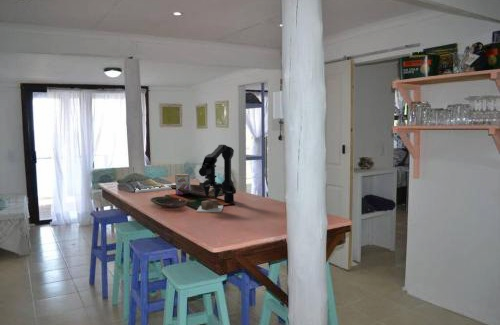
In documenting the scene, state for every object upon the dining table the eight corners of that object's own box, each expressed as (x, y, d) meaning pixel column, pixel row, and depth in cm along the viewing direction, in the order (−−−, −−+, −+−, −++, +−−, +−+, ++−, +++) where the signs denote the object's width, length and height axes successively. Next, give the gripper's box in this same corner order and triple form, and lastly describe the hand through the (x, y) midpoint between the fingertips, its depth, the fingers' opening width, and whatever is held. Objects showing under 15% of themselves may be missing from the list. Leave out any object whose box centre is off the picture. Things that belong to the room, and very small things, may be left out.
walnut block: (213, 199, 264) (201, 201, 258) (217, 200, 261) (205, 202, 254) (213, 206, 265) (201, 208, 258) (218, 207, 261) (206, 210, 254)
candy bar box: (175, 194, 315) (174, 174, 313) (177, 193, 320) (176, 173, 318) (189, 194, 314) (188, 174, 312) (190, 193, 319) (190, 173, 317)
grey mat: (223, 206, 268) (223, 205, 267) (221, 211, 252) (221, 210, 252) (200, 206, 268) (200, 205, 268) (196, 212, 252) (196, 211, 252)
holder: (136, 193, 327) (136, 190, 327) (131, 190, 342) (131, 187, 342) (187, 188, 349) (187, 185, 349) (180, 185, 365) (180, 182, 365)
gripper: (192, 174, 259) (193, 197, 261) (209, 177, 246) (210, 201, 248) (205, 172, 267) (206, 195, 269) (223, 175, 254) (223, 198, 255)
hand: (211, 197), depth 260 cm, fingers open, 9 cm apart
